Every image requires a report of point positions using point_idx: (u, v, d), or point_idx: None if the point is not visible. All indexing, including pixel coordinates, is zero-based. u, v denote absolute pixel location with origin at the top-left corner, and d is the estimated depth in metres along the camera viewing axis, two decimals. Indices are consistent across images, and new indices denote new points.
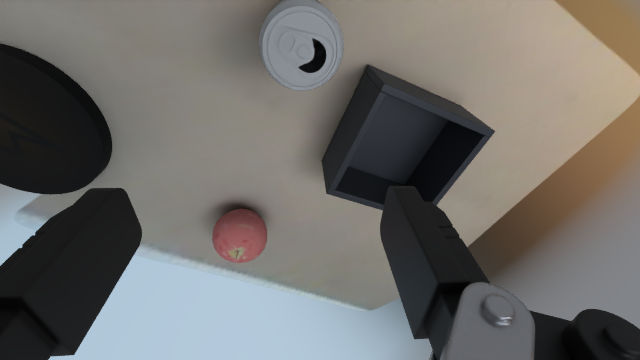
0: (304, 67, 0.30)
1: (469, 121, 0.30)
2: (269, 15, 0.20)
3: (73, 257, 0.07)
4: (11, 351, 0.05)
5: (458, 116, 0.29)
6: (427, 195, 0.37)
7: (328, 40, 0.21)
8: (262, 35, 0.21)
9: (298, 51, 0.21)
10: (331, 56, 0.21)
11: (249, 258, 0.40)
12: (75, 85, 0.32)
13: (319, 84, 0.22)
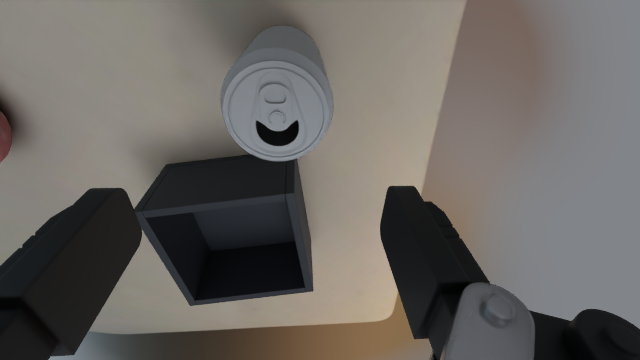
0: None
1: (308, 271, 0.30)
2: (290, 52, 0.15)
3: (73, 257, 0.07)
4: (11, 351, 0.05)
5: (306, 262, 0.29)
6: (219, 286, 0.32)
7: (305, 137, 0.16)
8: (262, 55, 0.15)
9: (273, 112, 0.15)
10: (291, 148, 0.17)
11: None
12: None
13: (254, 153, 0.17)
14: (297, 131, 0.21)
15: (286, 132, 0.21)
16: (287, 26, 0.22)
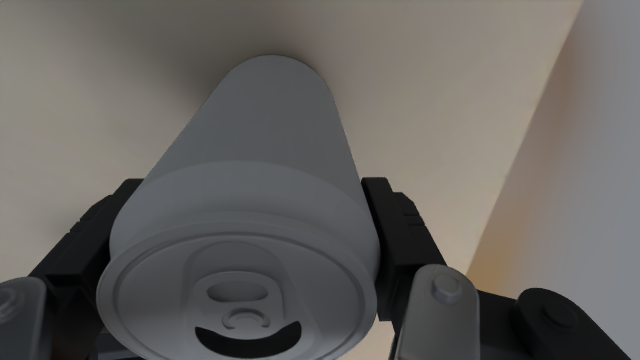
0: None
1: None
2: (277, 174, 0.05)
3: None
4: (72, 324, 0.06)
5: None
6: None
7: (317, 345, 0.07)
8: (199, 186, 0.05)
9: (237, 313, 0.06)
10: (284, 359, 0.07)
11: None
12: None
13: None
14: None
15: None
16: (279, 58, 0.13)
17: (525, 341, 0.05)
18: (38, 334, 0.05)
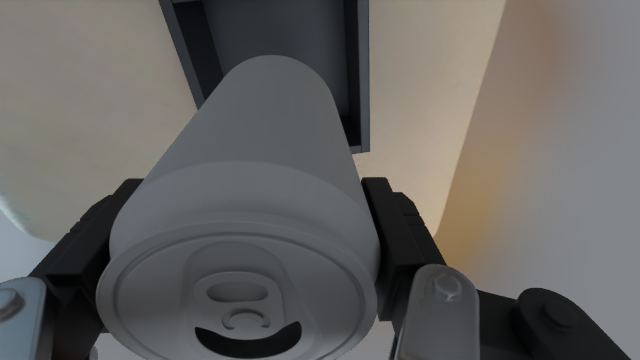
0: None
1: (368, 116, 0.24)
2: (277, 174, 0.05)
3: None
4: (72, 323, 0.06)
5: (368, 99, 0.23)
6: None
7: (317, 345, 0.07)
8: (199, 186, 0.05)
9: (237, 313, 0.06)
10: (285, 359, 0.07)
11: None
12: None
13: None
14: None
15: None
16: (279, 58, 0.13)
17: (525, 341, 0.05)
18: (38, 334, 0.05)
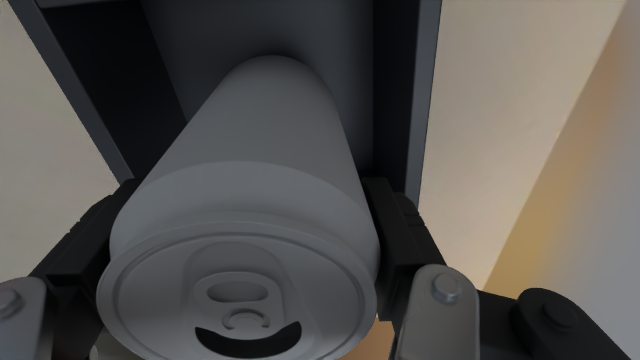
0: None
1: (417, 196, 0.14)
2: (277, 175, 0.05)
3: None
4: (72, 323, 0.06)
5: (420, 172, 0.13)
6: None
7: (317, 345, 0.07)
8: (200, 187, 0.05)
9: (237, 313, 0.06)
10: (284, 359, 0.07)
11: None
12: None
13: None
14: None
15: None
16: (279, 58, 0.13)
17: (525, 341, 0.05)
18: (38, 334, 0.05)
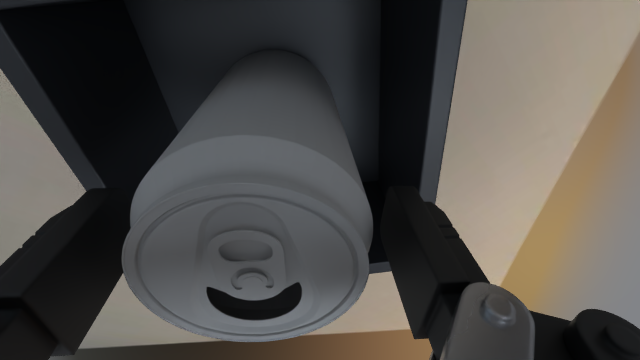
0: None
1: None
2: (280, 147, 0.06)
3: (73, 257, 0.07)
4: (11, 351, 0.05)
5: (435, 192, 0.12)
6: None
7: (316, 307, 0.08)
8: (213, 157, 0.06)
9: (244, 273, 0.07)
10: (286, 321, 0.08)
11: None
12: None
13: (209, 334, 0.08)
14: None
15: None
16: (280, 52, 0.14)
17: None
18: None
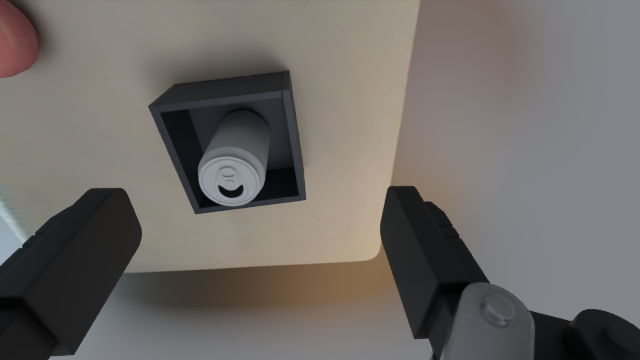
0: None
1: (301, 177, 0.34)
2: (236, 149, 0.27)
3: (73, 257, 0.07)
4: (11, 351, 0.05)
5: (300, 166, 0.33)
6: None
7: (248, 193, 0.28)
8: (220, 151, 0.26)
9: (228, 180, 0.27)
10: (240, 199, 0.29)
11: None
12: None
13: (218, 202, 0.28)
14: None
15: None
16: (244, 112, 0.34)
17: None
18: None
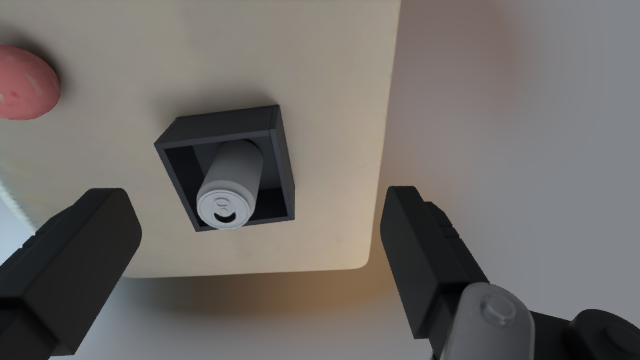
0: None
1: (289, 200, 0.38)
2: (228, 182, 0.31)
3: (73, 257, 0.07)
4: (11, 351, 0.05)
5: (288, 191, 0.37)
6: None
7: (240, 219, 0.32)
8: (215, 184, 0.31)
9: (222, 209, 0.31)
10: (233, 223, 0.33)
11: None
12: None
13: (214, 226, 0.33)
14: None
15: None
16: (239, 141, 0.38)
17: None
18: None
